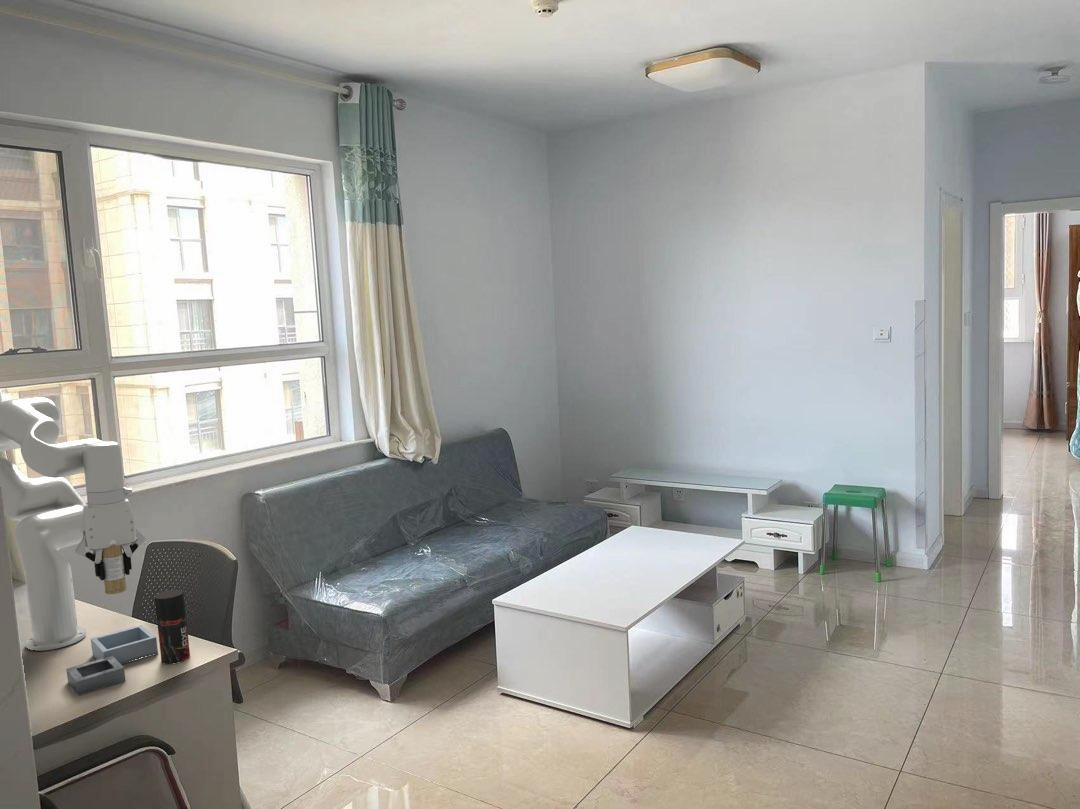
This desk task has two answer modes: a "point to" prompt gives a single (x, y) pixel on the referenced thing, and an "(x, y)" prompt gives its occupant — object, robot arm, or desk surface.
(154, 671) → the desk surface
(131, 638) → the bin
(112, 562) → the sprinkles bottle
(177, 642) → the deodorant
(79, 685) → the socket collar
